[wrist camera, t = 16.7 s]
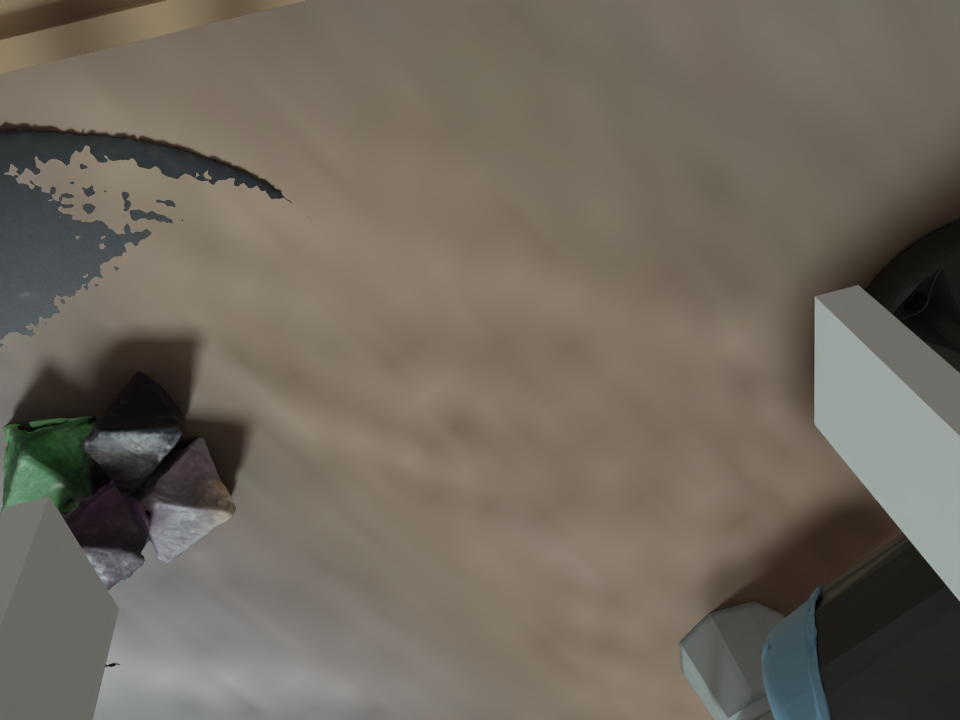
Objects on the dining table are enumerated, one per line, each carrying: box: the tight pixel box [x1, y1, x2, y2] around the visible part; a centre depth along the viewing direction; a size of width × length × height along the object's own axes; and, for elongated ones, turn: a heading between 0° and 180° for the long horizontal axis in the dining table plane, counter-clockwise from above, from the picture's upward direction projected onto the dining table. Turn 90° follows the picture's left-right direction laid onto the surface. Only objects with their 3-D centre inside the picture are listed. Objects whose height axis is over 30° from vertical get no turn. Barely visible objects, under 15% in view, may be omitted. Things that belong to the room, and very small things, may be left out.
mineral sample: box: [0, 130, 292, 667], centre depth 46 cm, size 35×35×9 cm
